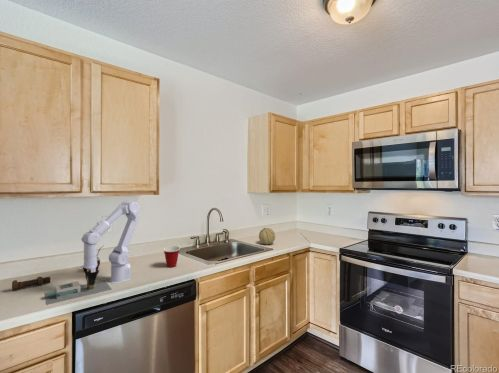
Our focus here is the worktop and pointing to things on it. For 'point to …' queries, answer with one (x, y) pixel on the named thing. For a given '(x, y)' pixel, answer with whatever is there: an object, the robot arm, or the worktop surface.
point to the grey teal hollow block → (66, 290)
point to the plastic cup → (171, 255)
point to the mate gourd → (98, 260)
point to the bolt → (30, 283)
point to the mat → (98, 287)
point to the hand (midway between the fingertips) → (90, 282)
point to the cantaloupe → (267, 236)
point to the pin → (88, 283)
